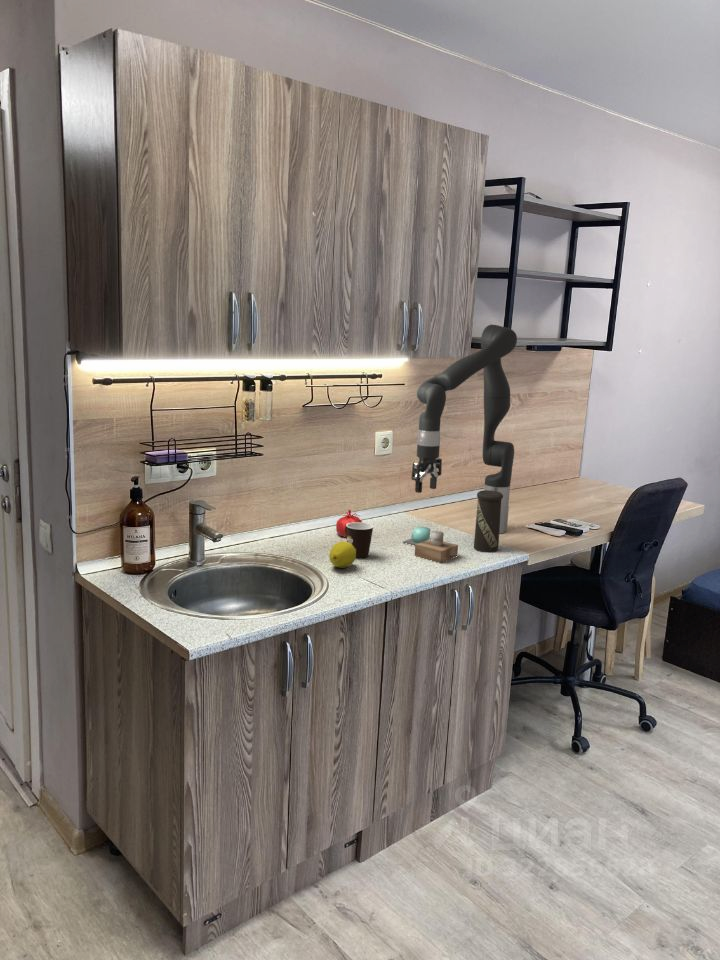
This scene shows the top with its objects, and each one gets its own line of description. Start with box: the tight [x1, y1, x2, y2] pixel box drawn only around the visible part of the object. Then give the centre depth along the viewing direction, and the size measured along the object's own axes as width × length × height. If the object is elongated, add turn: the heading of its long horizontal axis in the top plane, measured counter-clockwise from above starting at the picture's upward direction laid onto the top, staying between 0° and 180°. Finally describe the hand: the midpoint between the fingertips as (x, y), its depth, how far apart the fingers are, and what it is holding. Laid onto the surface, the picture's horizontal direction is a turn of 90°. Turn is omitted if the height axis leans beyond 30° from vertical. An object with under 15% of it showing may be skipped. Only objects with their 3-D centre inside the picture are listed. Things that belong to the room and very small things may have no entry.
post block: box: [414, 530, 459, 564], centre depth 255 cm, size 10×10×8 cm
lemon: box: [328, 540, 356, 569], centre depth 239 cm, size 11×8×8 cm
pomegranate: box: [335, 509, 364, 539], centre depth 274 cm, size 10×10×9 cm
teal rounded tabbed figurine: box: [410, 526, 431, 543], centre depth 269 cm, size 8×6×4 cm
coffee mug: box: [345, 521, 374, 560], centre depth 253 cm, size 12×9×10 cm
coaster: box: [402, 538, 418, 547], centre depth 270 cm, size 9×9×1 cm
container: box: [473, 489, 503, 553], centre depth 265 cm, size 9×9×20 cm
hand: (425, 490), depth 266 cm, fingers open, 8 cm apart
